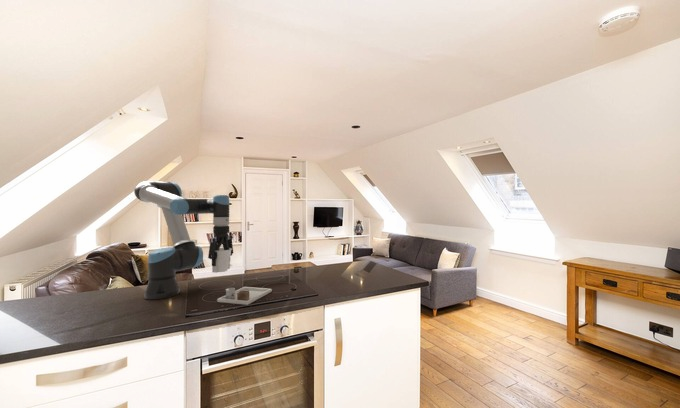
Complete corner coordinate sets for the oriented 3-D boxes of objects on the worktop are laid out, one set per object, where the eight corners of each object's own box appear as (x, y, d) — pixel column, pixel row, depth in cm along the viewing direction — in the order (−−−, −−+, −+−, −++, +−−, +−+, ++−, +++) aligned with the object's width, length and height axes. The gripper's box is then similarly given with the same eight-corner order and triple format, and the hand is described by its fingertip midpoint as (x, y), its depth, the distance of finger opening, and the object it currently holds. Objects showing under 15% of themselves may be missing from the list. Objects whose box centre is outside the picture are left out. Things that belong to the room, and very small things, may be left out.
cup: (226, 273, 138) (227, 250, 138) (206, 273, 138) (206, 250, 138) (234, 268, 148) (234, 247, 148) (216, 268, 148) (216, 247, 148)
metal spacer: (223, 300, 129) (223, 289, 129) (229, 297, 133) (229, 287, 133) (231, 301, 128) (231, 290, 128) (236, 298, 132) (236, 287, 132)
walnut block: (237, 302, 127) (237, 293, 127) (240, 299, 131) (240, 290, 131) (246, 302, 127) (246, 293, 127) (249, 299, 131) (249, 290, 131)
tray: (217, 304, 128) (217, 298, 128) (244, 291, 147) (244, 286, 147) (247, 307, 123) (247, 301, 123) (271, 293, 142) (271, 288, 142)
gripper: (212, 227, 132) (212, 275, 132) (240, 224, 152) (240, 266, 152) (199, 226, 134) (199, 274, 134) (229, 223, 154) (228, 265, 154)
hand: (221, 270), depth 143 cm, fingers closed on cup, 8 cm apart
